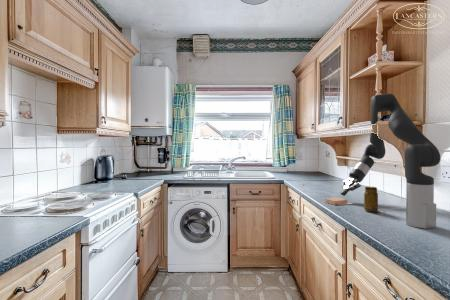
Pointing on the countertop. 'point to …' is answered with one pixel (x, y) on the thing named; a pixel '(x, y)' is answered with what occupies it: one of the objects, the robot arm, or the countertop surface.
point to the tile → (336, 201)
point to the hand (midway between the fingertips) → (342, 194)
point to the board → (345, 204)
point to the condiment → (371, 200)
